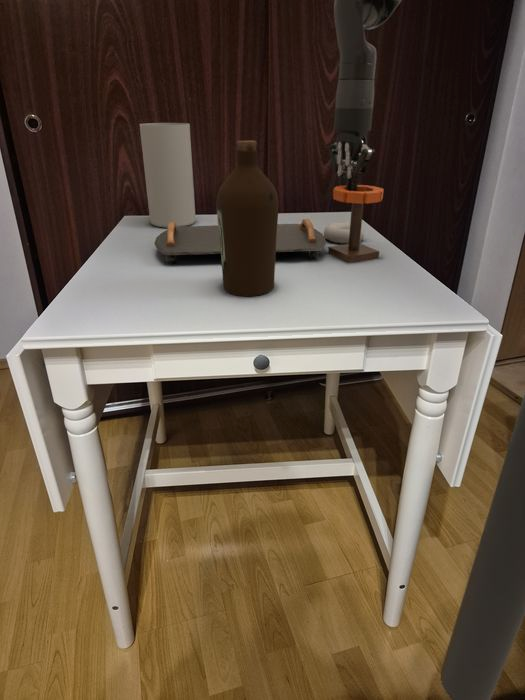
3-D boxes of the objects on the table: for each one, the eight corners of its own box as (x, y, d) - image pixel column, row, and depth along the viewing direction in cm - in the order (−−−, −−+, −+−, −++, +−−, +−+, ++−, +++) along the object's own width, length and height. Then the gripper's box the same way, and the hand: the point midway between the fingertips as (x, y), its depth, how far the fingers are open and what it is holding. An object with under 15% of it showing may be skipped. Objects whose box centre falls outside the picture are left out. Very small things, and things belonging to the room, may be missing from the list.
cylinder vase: (153, 218, 140) (143, 122, 128) (197, 217, 140) (191, 122, 129) (147, 228, 129) (135, 125, 117) (194, 228, 129) (187, 125, 118)
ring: (392, 200, 100) (393, 190, 99) (352, 205, 96) (353, 194, 95) (362, 193, 107) (362, 183, 106) (324, 196, 103) (325, 187, 102)
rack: (378, 257, 106) (386, 194, 99) (349, 263, 103) (354, 197, 96) (356, 248, 112) (362, 188, 106) (327, 253, 109) (331, 191, 102)
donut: (372, 241, 118) (343, 232, 125) (374, 227, 117) (344, 218, 124) (343, 248, 113) (314, 238, 120) (344, 233, 111) (315, 224, 118)
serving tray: (151, 267, 100) (147, 237, 97) (160, 238, 120) (158, 212, 117) (334, 261, 103) (336, 232, 100) (313, 234, 124) (315, 209, 121)
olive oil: (279, 278, 94) (281, 138, 82) (274, 299, 84) (276, 144, 73) (225, 276, 95) (220, 138, 83) (214, 296, 85) (207, 143, 74)
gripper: (391, 106, 93) (381, 199, 101) (348, 105, 103) (342, 189, 112) (360, 106, 90) (352, 202, 98) (319, 105, 100) (315, 191, 109)
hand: (346, 195), depth 105 cm, fingers closed on ring, 2 cm apart
